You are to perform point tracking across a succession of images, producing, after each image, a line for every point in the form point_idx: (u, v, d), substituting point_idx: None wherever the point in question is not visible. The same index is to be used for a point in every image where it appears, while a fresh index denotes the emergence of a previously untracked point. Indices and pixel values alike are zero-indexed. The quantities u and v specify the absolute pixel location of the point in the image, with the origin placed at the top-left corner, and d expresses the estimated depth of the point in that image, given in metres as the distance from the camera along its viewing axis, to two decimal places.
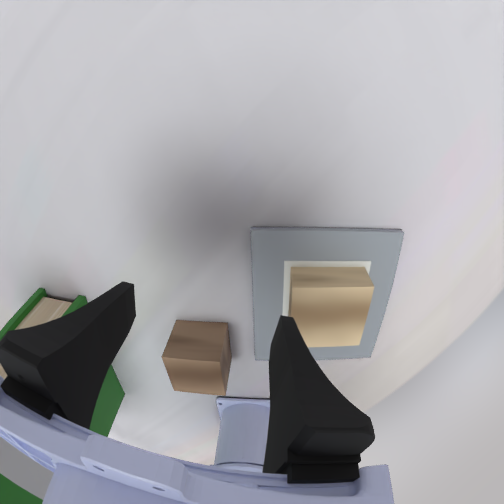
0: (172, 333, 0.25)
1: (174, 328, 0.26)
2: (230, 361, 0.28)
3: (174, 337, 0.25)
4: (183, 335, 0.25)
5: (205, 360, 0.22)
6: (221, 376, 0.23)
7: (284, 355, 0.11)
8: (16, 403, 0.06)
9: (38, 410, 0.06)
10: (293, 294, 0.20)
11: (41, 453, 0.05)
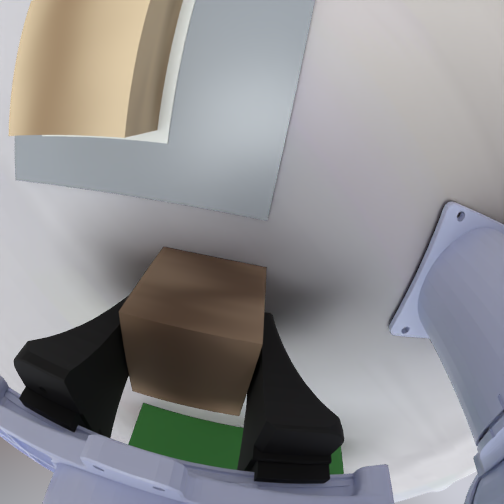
0: None
1: None
2: (259, 275, 0.13)
3: None
4: None
5: (122, 333, 0.10)
6: (173, 326, 0.09)
7: None
8: (36, 415, 0.06)
9: (38, 410, 0.06)
10: (16, 133, 0.08)
11: (41, 453, 0.05)
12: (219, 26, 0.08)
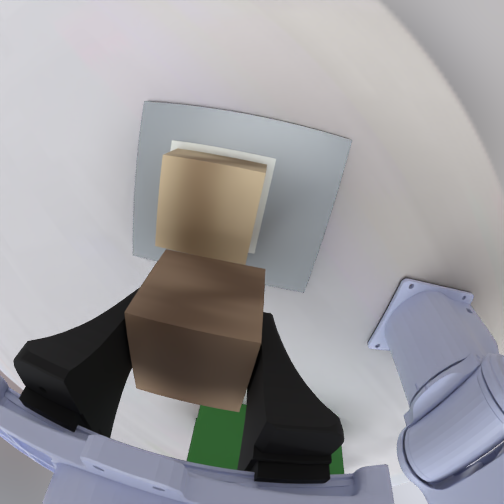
0: None
1: None
2: (258, 277, 0.13)
3: None
4: None
5: (127, 333, 0.10)
6: (177, 326, 0.10)
7: None
8: (36, 415, 0.06)
9: (38, 410, 0.06)
10: (163, 246, 0.18)
11: (41, 453, 0.05)
12: (287, 190, 0.19)
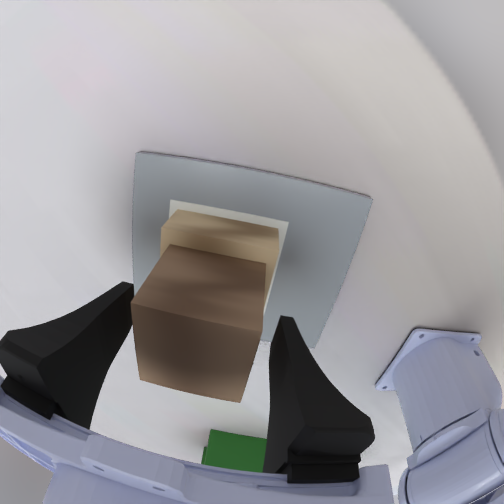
0: None
1: None
2: (259, 270, 0.14)
3: None
4: None
5: (133, 323, 0.11)
6: (181, 315, 0.10)
7: (284, 355, 0.11)
8: (16, 403, 0.06)
9: (38, 410, 0.06)
10: None
11: (41, 453, 0.05)
12: (300, 255, 0.18)
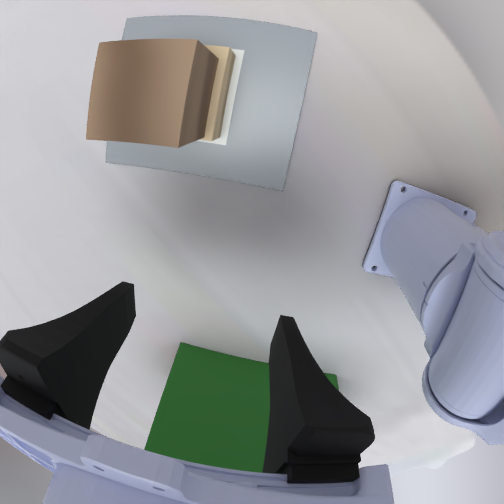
0: None
1: None
2: None
3: None
4: None
5: (95, 64, 0.10)
6: (135, 40, 0.09)
7: (284, 355, 0.11)
8: (16, 403, 0.06)
9: (38, 410, 0.06)
10: None
11: (41, 453, 0.05)
12: (256, 78, 0.17)
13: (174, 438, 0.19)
